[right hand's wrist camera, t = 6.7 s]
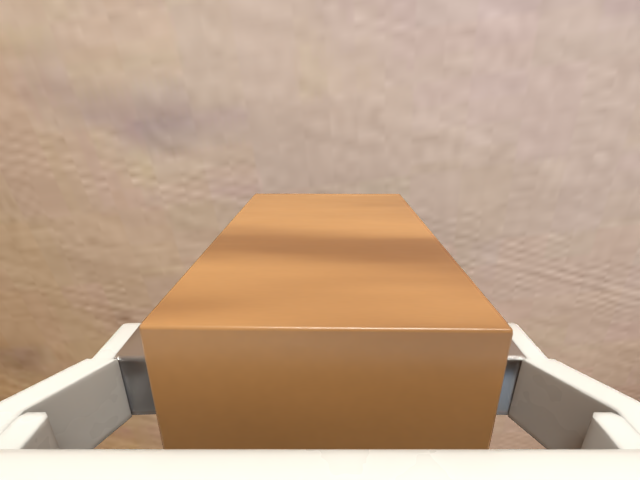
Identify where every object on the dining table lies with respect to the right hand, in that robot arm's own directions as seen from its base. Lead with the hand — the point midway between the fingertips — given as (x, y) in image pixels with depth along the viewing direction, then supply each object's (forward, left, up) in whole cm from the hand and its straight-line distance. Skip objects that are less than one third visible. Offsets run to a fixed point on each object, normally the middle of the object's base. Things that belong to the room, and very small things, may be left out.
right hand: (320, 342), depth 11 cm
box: (+3, +11, -7) cm, 13 cm away
